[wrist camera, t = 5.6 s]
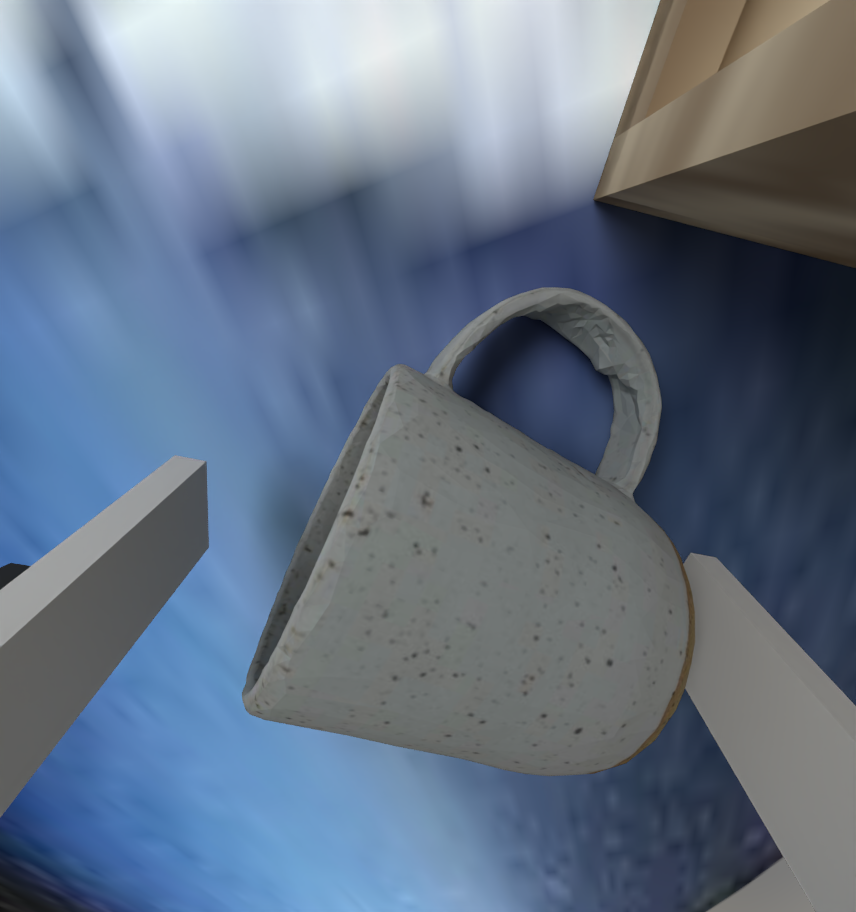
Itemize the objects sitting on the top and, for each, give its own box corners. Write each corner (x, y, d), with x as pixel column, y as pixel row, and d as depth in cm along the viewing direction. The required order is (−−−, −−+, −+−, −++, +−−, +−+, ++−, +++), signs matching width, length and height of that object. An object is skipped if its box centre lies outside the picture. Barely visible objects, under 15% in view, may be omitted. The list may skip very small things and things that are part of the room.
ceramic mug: (503, 612, 16) (563, 887, 9) (303, 532, 14) (181, 791, 7) (698, 370, 12) (1091, 526, 5) (448, 220, 10) (490, 126, 3)
